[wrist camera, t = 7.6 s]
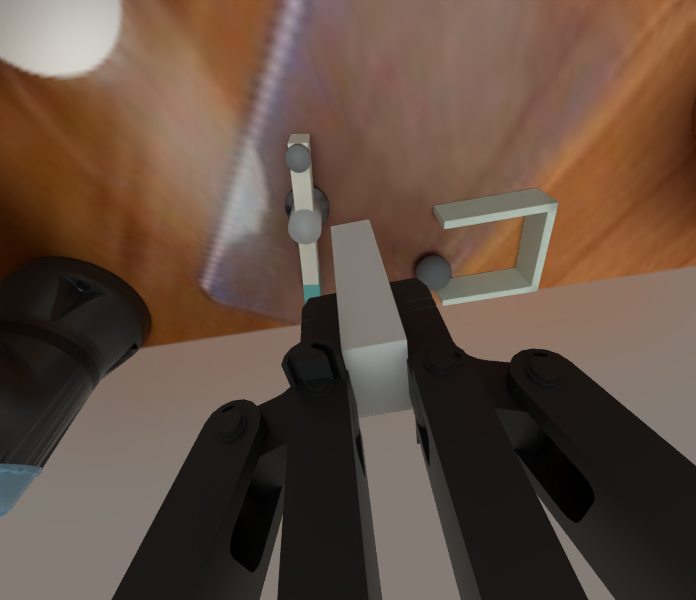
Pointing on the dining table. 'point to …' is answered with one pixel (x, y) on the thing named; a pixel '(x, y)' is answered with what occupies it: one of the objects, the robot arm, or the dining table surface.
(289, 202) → the pivot base
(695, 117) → the flower pot
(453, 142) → the dining table surface
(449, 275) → the ball
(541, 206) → the box
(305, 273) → the teal-tipped knobbed bar
